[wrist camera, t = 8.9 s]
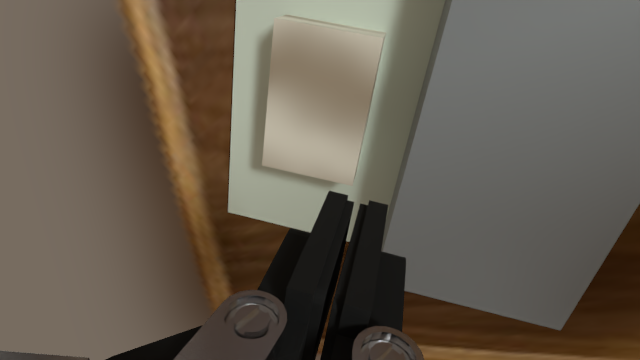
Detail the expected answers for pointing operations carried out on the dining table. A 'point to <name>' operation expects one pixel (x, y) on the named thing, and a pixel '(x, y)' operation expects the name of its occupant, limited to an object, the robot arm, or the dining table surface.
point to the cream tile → (319, 96)
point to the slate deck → (520, 155)
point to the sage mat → (383, 121)
